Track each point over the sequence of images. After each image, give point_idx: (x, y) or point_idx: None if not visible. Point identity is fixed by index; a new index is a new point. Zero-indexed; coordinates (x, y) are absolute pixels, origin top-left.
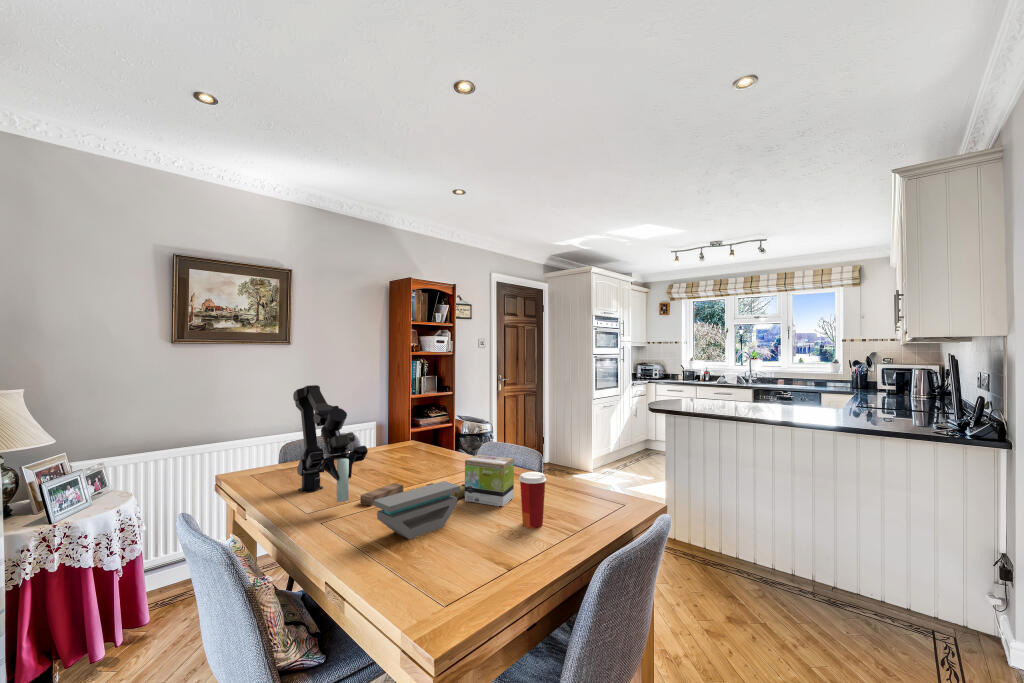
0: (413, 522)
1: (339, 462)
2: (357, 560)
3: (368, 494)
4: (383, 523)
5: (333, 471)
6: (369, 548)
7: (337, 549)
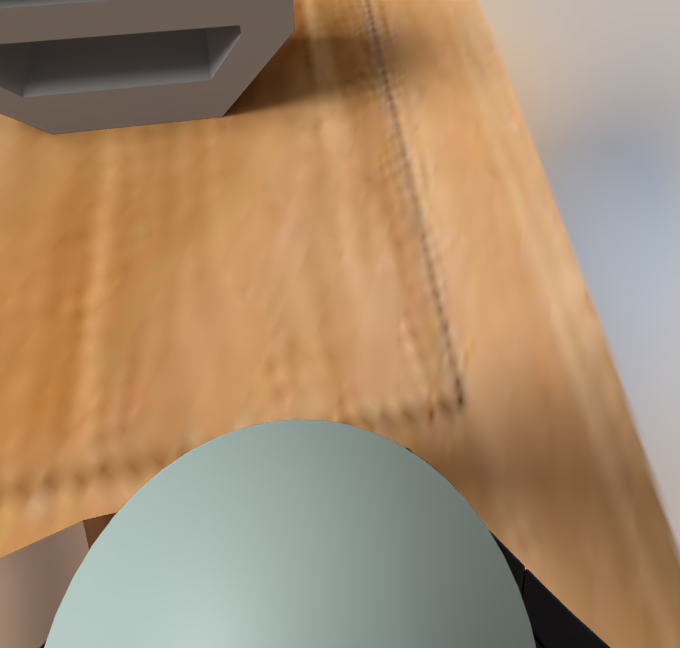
0: (152, 40)
1: (453, 499)
2: (410, 21)
3: (48, 630)
4: (266, 62)
5: (502, 547)
6: (354, 60)
7: (447, 107)
